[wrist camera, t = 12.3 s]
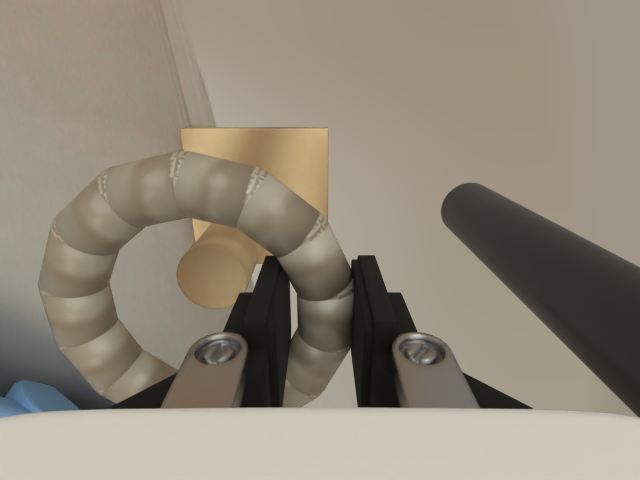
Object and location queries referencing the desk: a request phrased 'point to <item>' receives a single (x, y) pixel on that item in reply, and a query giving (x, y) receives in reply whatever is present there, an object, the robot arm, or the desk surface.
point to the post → (229, 243)
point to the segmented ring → (206, 205)
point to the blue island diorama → (33, 399)
